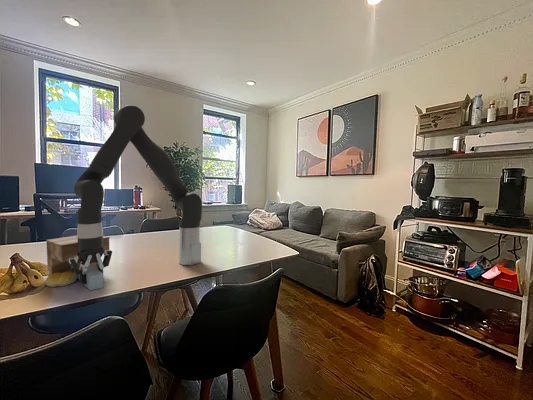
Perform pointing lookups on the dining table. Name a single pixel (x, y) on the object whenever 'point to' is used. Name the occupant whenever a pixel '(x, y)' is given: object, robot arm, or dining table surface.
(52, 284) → the bread roll
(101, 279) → the batten
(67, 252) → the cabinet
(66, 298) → the dining table surface
